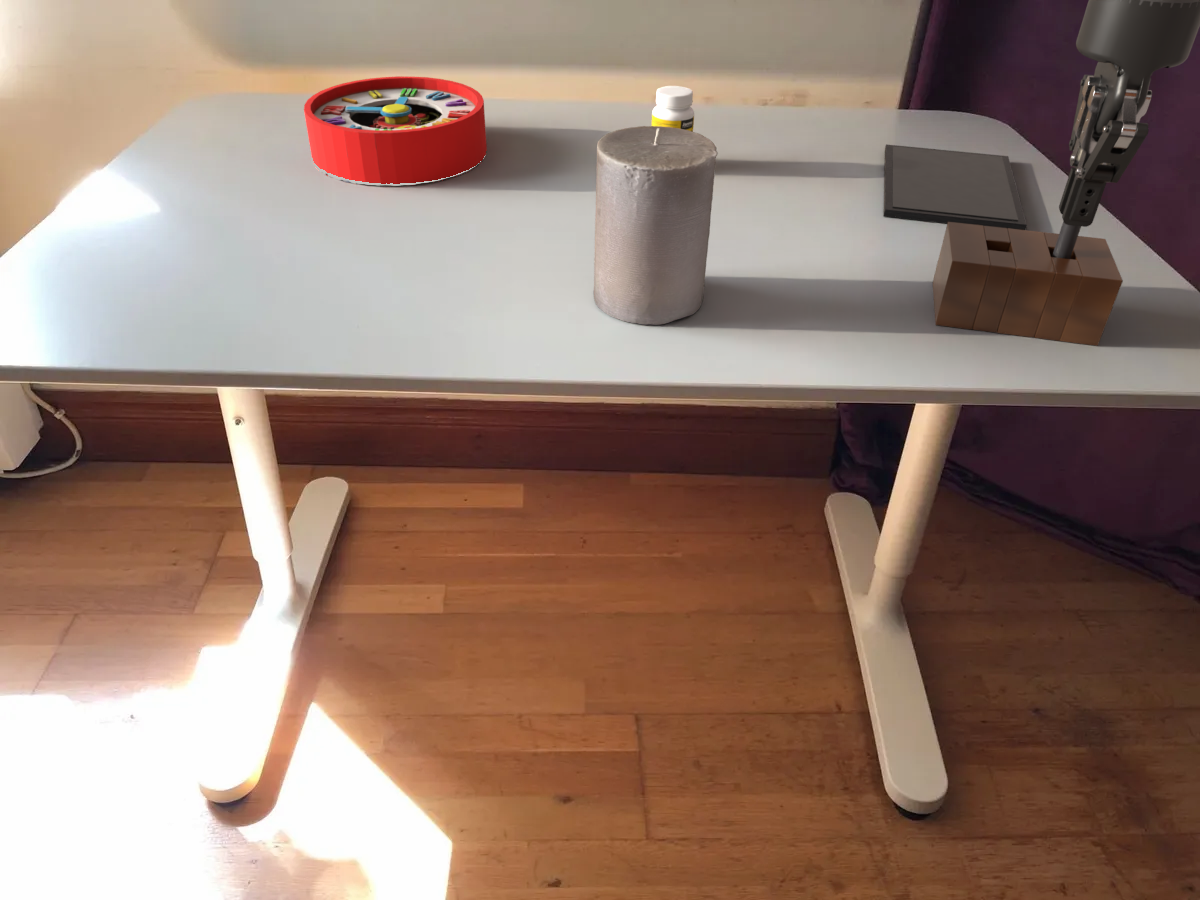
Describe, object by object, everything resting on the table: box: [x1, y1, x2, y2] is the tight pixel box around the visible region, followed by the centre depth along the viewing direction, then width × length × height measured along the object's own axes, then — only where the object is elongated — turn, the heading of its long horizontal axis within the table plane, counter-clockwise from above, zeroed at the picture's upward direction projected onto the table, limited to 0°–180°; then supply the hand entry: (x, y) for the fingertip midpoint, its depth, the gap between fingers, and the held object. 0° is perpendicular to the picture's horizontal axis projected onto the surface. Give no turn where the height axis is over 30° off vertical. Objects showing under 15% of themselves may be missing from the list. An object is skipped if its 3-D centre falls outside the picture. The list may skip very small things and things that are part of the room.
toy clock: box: [303, 75, 488, 184], centre depth 109 cm, size 20×6×20 cm
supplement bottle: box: [650, 85, 695, 132], centre depth 107 cm, size 5×5×8 cm
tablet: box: [882, 144, 1028, 230], centre depth 105 cm, size 14×20×1 cm
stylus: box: [1052, 163, 1103, 259], centre depth 78 cm, size 1×1×14 cm
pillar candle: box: [593, 125, 719, 326], centre depth 79 cm, size 10×10×15 cm
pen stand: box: [932, 222, 1124, 347], centre depth 81 cm, size 13×8×6 cm, turn 76°
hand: (1074, 218), depth 77 cm, fingers closed on stylus, 1 cm apart
